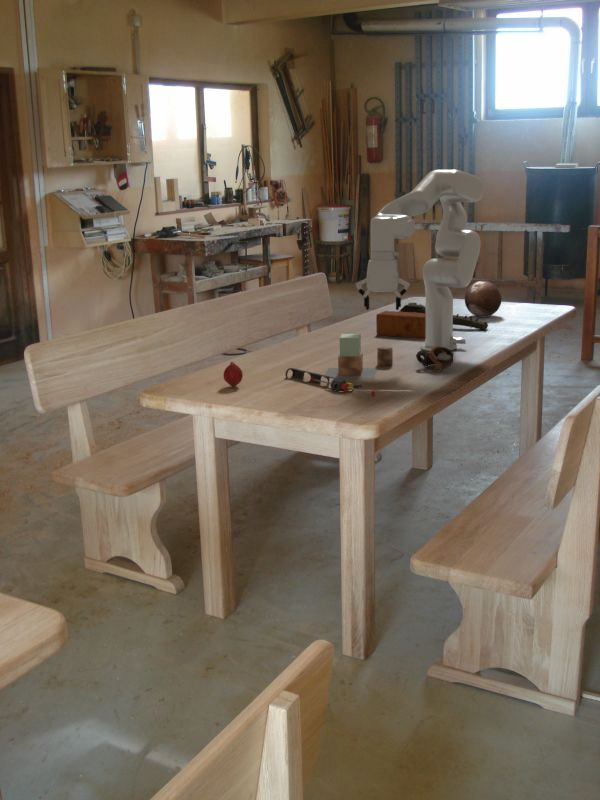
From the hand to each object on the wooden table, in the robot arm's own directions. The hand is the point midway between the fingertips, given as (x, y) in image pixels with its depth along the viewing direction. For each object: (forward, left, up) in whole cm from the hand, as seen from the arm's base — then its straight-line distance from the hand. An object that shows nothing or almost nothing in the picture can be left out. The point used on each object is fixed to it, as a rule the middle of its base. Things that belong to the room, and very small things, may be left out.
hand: (382, 309), depth 305 cm
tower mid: (+9, +12, -12) cm, 20 cm away
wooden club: (-17, -66, -19) cm, 71 cm away
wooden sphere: (-35, -91, -19) cm, 99 cm away
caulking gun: (+12, +29, -19) cm, 37 cm away
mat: (+9, +12, -19) cm, 24 cm away
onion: (+43, +30, -19) cm, 56 cm away
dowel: (-1, 0, -19) cm, 19 cm away
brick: (-4, -52, -19) cm, 56 cm away
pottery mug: (-17, +4, -19) cm, 26 cm away
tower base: (+9, +12, -18) cm, 24 cm away
